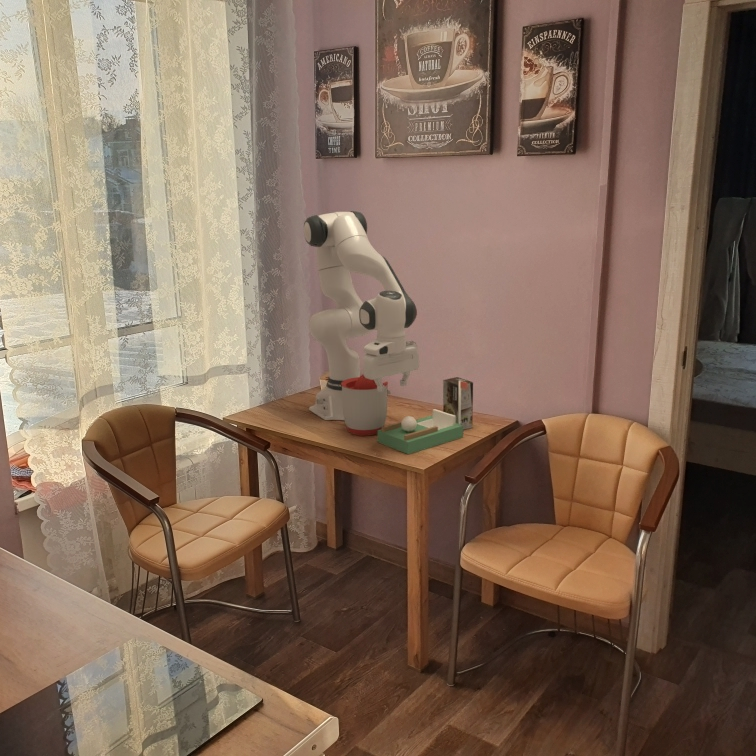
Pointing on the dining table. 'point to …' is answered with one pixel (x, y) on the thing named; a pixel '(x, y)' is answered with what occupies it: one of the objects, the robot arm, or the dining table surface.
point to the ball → (409, 423)
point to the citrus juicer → (364, 405)
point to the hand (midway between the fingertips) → (392, 388)
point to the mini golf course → (424, 431)
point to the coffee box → (453, 397)
